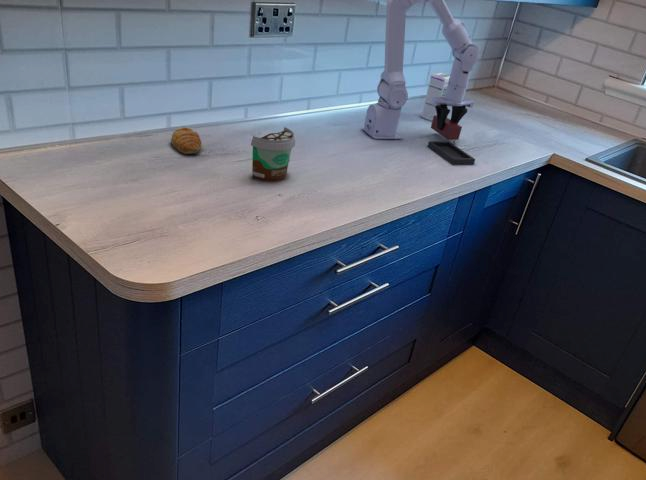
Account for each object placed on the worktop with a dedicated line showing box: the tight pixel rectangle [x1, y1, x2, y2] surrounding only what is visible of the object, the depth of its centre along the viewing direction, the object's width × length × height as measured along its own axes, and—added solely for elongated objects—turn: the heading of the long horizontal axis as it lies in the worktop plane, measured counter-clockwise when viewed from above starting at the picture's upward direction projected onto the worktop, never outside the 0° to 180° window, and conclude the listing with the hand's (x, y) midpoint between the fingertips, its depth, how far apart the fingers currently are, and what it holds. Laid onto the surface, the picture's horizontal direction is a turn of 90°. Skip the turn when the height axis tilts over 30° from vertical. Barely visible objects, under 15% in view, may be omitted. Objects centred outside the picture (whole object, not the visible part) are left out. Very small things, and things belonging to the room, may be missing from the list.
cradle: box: [427, 140, 476, 166], centre depth 174 cm, size 8×14×2 cm, turn 26°
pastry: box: [170, 126, 202, 155], centre depth 142 cm, size 9×7×4 cm
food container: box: [250, 126, 296, 183], centre depth 135 cm, size 12×6×10 cm, turn 148°
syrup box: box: [421, 72, 450, 122], centre depth 199 cm, size 6×6×14 cm
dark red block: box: [430, 115, 463, 141], centre depth 184 cm, size 4×10×4 cm, turn 26°
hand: (445, 129), depth 184 cm, fingers closed on dark red block, 4 cm apart
